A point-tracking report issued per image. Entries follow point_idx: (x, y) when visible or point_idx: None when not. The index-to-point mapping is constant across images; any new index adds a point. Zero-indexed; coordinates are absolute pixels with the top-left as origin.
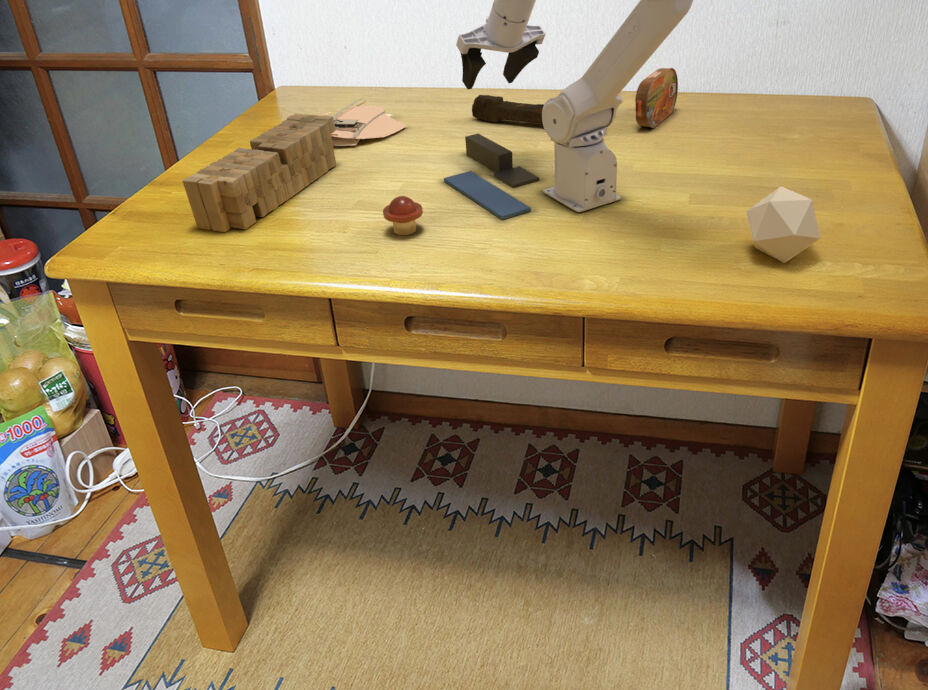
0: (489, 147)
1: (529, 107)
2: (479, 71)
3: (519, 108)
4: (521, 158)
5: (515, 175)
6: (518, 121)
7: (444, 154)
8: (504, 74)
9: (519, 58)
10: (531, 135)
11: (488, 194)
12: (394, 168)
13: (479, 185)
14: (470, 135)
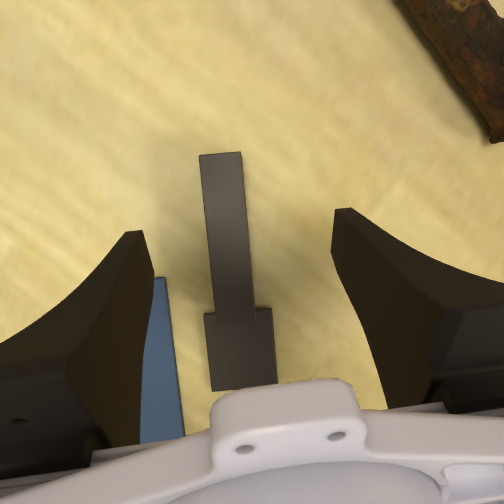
0: (219, 267)
1: (469, 36)
2: (140, 383)
3: (443, 17)
4: (306, 253)
5: (239, 351)
6: (422, 31)
7: (159, 124)
8: (336, 222)
9: (385, 360)
10: (405, 125)
11: (146, 411)
12: (19, 143)
13: (147, 362)
14: (214, 156)
